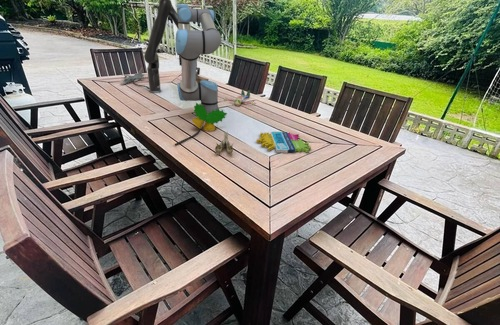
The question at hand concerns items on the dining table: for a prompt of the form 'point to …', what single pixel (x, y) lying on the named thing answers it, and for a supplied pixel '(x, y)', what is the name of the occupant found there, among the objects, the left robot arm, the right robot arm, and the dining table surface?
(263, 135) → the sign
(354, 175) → the dining table surface
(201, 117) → the ornament
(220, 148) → the jawbone
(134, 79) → the airplane
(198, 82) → the box
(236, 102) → the toy
